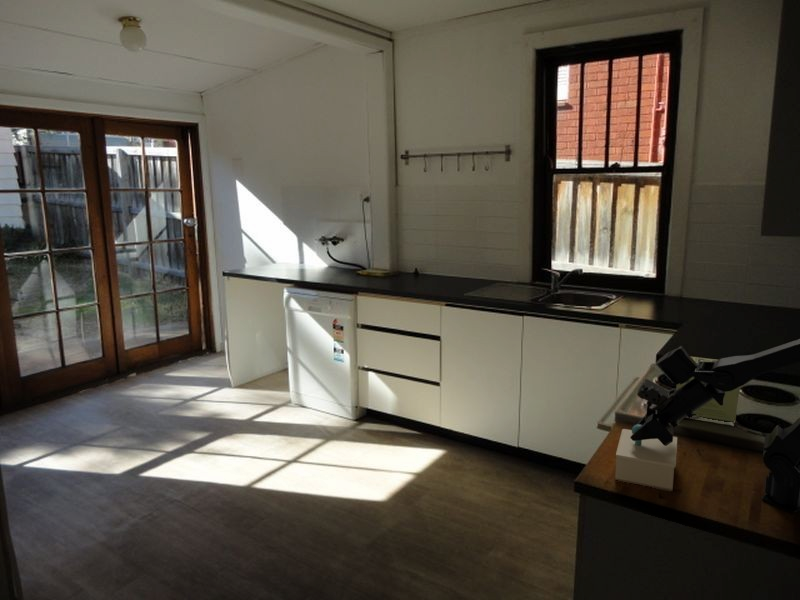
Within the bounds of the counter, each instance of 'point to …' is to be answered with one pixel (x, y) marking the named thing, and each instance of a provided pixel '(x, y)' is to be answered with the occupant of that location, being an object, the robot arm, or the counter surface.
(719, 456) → the counter surface
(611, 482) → the counter surface
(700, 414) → the protein box
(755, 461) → the counter surface
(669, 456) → the carton lid
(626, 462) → the carton
